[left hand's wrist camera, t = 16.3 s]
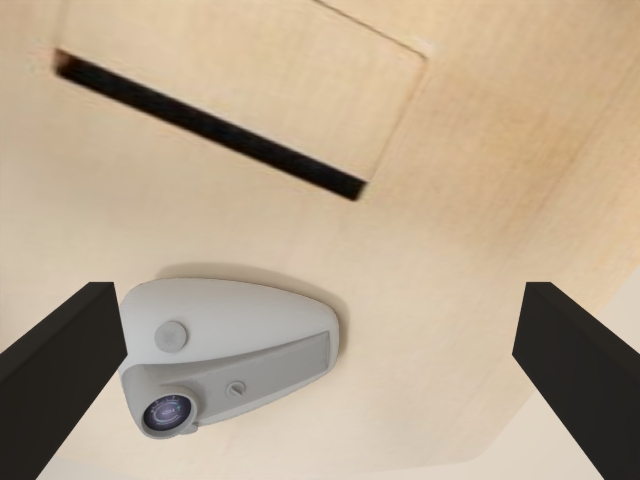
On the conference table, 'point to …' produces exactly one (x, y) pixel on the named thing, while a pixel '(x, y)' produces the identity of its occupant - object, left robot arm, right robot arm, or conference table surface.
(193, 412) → the projector
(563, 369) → the left robot arm
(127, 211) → the conference table surface
